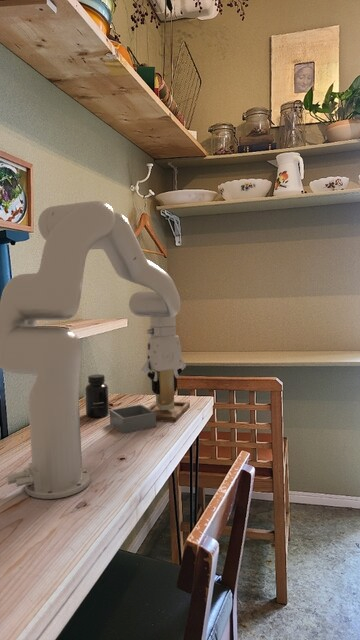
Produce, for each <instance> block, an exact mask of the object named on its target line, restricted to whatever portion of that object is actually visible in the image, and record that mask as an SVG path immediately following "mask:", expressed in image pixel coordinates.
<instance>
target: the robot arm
mask: <svg viewBox="0 0 360 640" xmlns="http://www.w3.org/2000/svg"><path fill="white" fill-rule="evenodd" d="M37 221H38V222H37V224H38V230H39V233H40V235H41V236H42V238H43V240H45V243H44V246H43V250H42V254H41V259H40V264H39V265H40V266H39V268H38V271H37V272H36V273H21V274H18V275H14V276H13V277H12V278H10V279H9V281H8V282H7V283H6V285H5V286H4V288H3V290H2V292H1V295H0V369H1V370H3V371H5V372H7V373H10V374H23V375H32V376H36V379H35V381H34V383H33V385H32V387H31V390H30V392H29V396H28V401H27V402H28V418H29V430H30V431H29V434H30V435H29V436H30V451H31V453H30V454H31V462H28V464H27V465H28V467H27V468H23V471H18V472H12V473H7V474H6V482H7V483H6V484H7V485H12V484H15V486H16V487H22V486H24V490H25V492H26V494H27V495H29V496H31V497H33V498H35V499H36V498H37V499H42V500H43V499H44V500H54V499H60V498H65V497H70V496H72V495H75V494H77V493H79V492H81V491H83V490H85V488H87V487H88V486H89V485H90V483H91V480H92V479H91V473H90V471H88V469H86V468H84V467H83V459H82V457H83V456H82V436H81V434H82V433H81V416H80V397H79V394H80V392H79V382H80V381H79V379H80V368H81V363H82V355H83V349H82V348H83V346H82V342H81V340H80V337H79V336H78V335H77V334H76V333H75V332H74V331H72V330H70V329H68V328H66V327H65V328H64V327H59V326H48V325H47V326H45V325H43V326H40V325H38V326H37V321H67V320H70V319H72V318H73V317H75V316H76V315H77V313H78V311H79V308H80V303H81V298H82V290H83V283H84V274H85V268H86V267H85V266H86V261H87V257H88V254H89V251H92V250H103V251H104V253H105V254H106V257H107V258H108V260H109V263H110V264H111V266H112V267H113V269H114V272H115V273H116V275H118V277H119V278H121V279H123V280H126V281H128V282H130V283H134V284H136V285H140V286H143V287H145V288H147V289H150V290H138V291H136V292H133V294H132V295H131V296H130V298H129V301H128V307H129V310H130V312H131V313H132V314H133V315H134V316H136V317H139V318H149V324H150V326H149V328H148V329H146V334H147V335H149V337H148V340H147V347H146V362H145V363H144V364H143V366H142V368H141V369H140V371H141V372H142V373H143V374H144V375H145V376H147V377H148V378H149V379H150V380H151V391H152V392H153V393H154V394H155V395H156V394H160V386H159V381H158V376H159V372H160V371H163V370H168V369H174V393H175V392H177V388H178V378H179V377H180V375H181V373H182V371H183V370H184V369H185V368H186V367H187V363H185V361H184V360H183V353H182V345H181V341H180V337H179V335H177V333H176V332H177V330H176V329H177V328H176V327H177V326H176V325H177V323H176V315H178V314H179V312H180V310H181V298H180V294H179V292H178V289H177V286H176V285H175V281H174V280H173V278H172V277H171V276H170V275H169V274H168V272H166V271H165V270H164V269H162V268H161V267H160V266H158V265H157V264H155V263H154V262H152V261H151V260H149V259H147V257H146V256H145V253H144V251H143V249H142V247H141V245H140V243H139V241H138V239H137V236H136V234H135V232H134V230H133V228H132V226H131V224H130V222H129V219H128V218H127V217H126V216H124V214H121V213H119V212H114V209H113V207H112V206H111V205H110V204H108V203H107V202H104V201H101V200H92V201H83V202H75V203H69V204H68V203H67V204H61V205H51V206H49V207H47V208H45V209H44V210H42V212H41V213H40V215H39V217H38V220H37ZM149 370H151V371H149Z"/></svg>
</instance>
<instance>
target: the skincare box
mask: <svg viewBox="0 0 360 640" xmlns="http://www.w3.org/2000/svg"><path fill="white" fill-rule="evenodd" d="M158 381H159V386H160V394H155V402H156V405H157V407H158V408H159V409H160V410H170V409H174V402H175V392H174V369H168V370H163V371H160V372H159V376H158Z"/></svg>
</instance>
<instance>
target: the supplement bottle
mask: <svg viewBox="0 0 360 640" xmlns="http://www.w3.org/2000/svg"><path fill="white" fill-rule="evenodd" d="M87 378H88V381H87V383H88V384H87V385H86V386H85V388H84V389H85V390H84V391H85V396H84V397H85V415H86V416H87V417H88V418H92V419H93V418H94V419H96V418H97V419H98V418H105V417H107V416H108V415H109V414H110V406H109V401H110V400H109V386H108V385H107V384H106V383H105V381H106V379H105V378H106V377H105V374H90V375H89V376H88V377H87Z"/></svg>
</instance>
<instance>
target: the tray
mask: <svg viewBox="0 0 360 640" xmlns="http://www.w3.org/2000/svg"><path fill="white" fill-rule="evenodd" d="M190 406H191V404H190V402H187V401H174V409H170V410H160V409H159V408H158V407H157V405H156V401H154V402H153V403H152V404H151V405H150V406H148V407H147V408H148V409H150V410H152V411H154V412H155V413H156V422H157V421H158V422H169V423H170V422H171V423H172V422H173V423H175V422H177V421H178V420H179V419H180V418H181V417H182V416H183V415H184V414H185V412H187V411H188V409H190ZM140 415H141V414H140Z"/></svg>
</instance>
